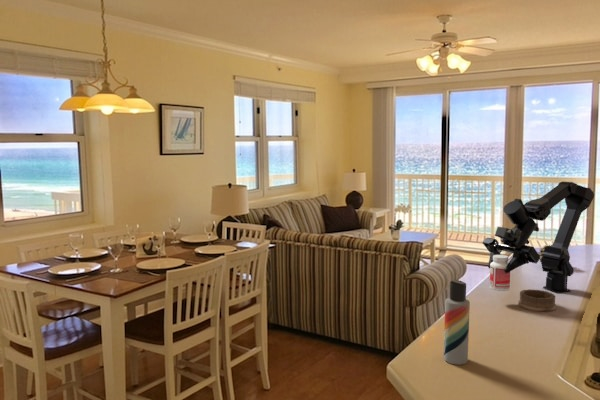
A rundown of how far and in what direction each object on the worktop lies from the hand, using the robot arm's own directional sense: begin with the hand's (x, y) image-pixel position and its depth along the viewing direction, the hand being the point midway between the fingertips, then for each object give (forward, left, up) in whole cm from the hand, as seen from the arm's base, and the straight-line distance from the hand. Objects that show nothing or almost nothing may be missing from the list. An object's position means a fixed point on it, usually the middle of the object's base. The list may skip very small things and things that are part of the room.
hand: (497, 269), depth 162 cm
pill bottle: (-1, 0, -7) cm, 7 cm away
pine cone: (-56, -35, -12) cm, 67 cm away
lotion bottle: (+38, +32, -12) cm, 51 cm away
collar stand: (-11, +6, -12) cm, 17 cm away
